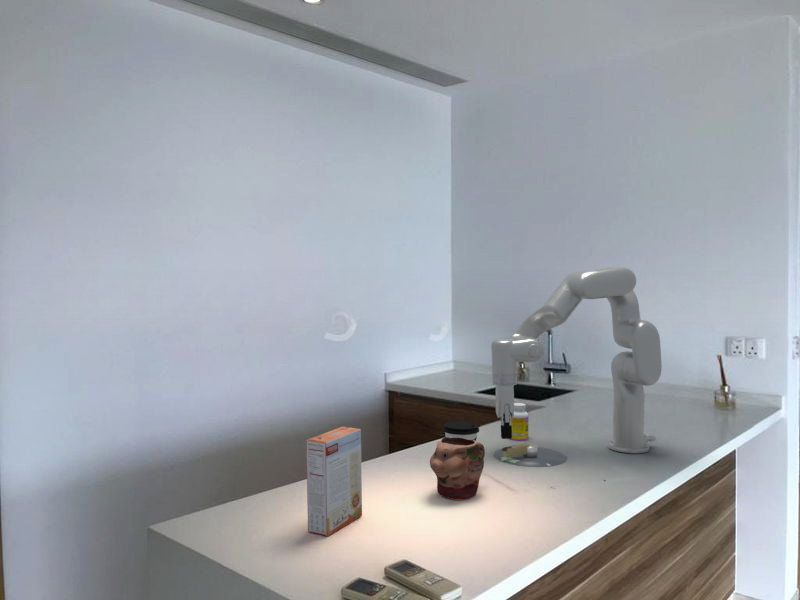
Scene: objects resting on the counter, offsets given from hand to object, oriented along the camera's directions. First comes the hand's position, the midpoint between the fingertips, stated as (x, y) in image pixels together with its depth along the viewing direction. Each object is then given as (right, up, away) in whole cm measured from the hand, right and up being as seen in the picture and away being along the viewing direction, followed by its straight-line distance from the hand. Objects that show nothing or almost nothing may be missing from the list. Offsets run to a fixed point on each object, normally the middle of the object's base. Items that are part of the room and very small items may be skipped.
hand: (506, 437), depth 201 cm
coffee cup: (-15, -7, -7) cm, 18 cm away
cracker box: (-48, -9, -53) cm, 72 cm away
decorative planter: (-17, -8, -32) cm, 37 cm away
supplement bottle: (+7, -6, +19) cm, 21 cm away
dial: (+7, -6, -2) cm, 10 cm away
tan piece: (+3, -5, -5) cm, 8 cm away
